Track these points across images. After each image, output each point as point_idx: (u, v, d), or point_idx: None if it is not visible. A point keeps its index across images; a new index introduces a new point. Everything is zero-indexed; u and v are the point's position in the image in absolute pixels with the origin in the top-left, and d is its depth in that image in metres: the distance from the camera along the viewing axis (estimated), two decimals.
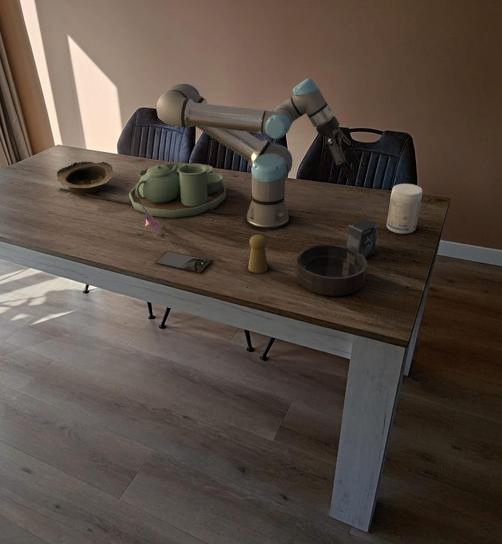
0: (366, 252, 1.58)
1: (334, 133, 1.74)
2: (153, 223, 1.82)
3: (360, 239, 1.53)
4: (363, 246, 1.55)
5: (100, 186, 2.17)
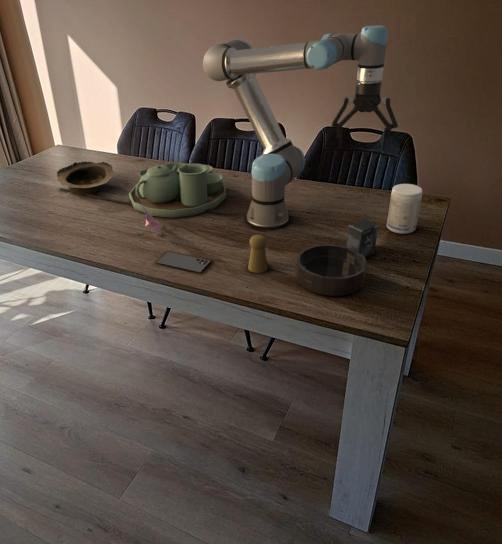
0: (366, 252, 1.58)
1: (363, 99, 1.58)
2: (153, 223, 1.82)
3: (360, 239, 1.53)
4: (363, 246, 1.55)
5: (100, 186, 2.17)
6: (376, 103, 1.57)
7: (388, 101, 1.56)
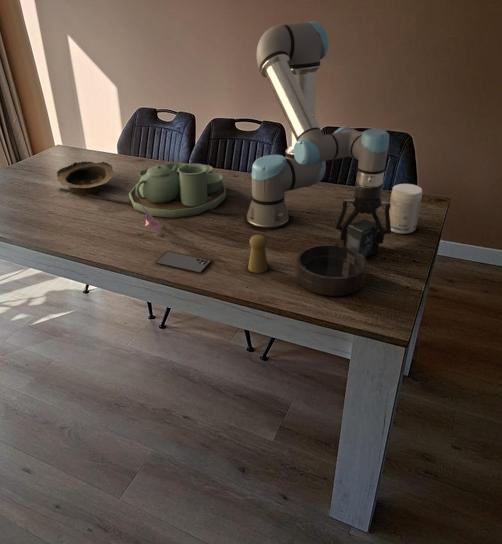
0: (366, 252, 1.58)
1: (362, 199, 1.50)
2: (153, 223, 1.82)
3: (360, 239, 1.53)
4: (363, 246, 1.55)
5: (100, 186, 2.17)
6: (376, 206, 1.50)
7: (388, 207, 1.49)
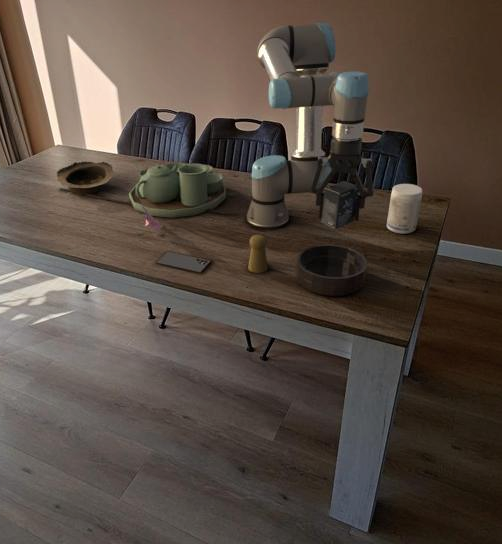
0: (345, 219, 1.37)
1: (339, 156, 1.30)
2: (153, 223, 1.82)
3: (337, 203, 1.33)
4: (342, 211, 1.35)
5: (100, 186, 2.17)
6: (356, 163, 1.30)
7: (369, 165, 1.29)
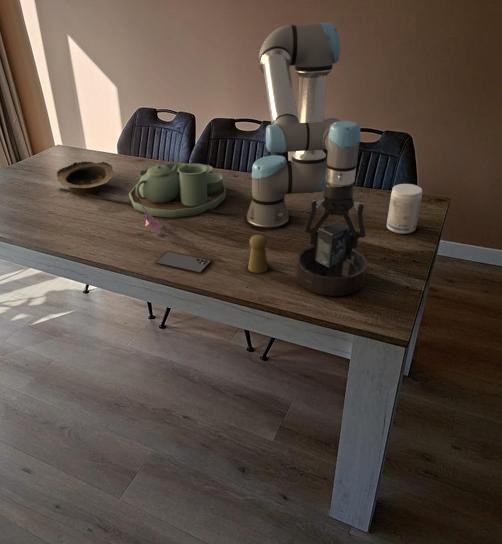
0: (338, 258, 1.43)
1: (332, 199, 1.35)
2: (153, 223, 1.82)
3: (331, 244, 1.38)
4: (335, 251, 1.40)
5: (100, 186, 2.17)
6: (348, 207, 1.35)
7: (361, 208, 1.34)
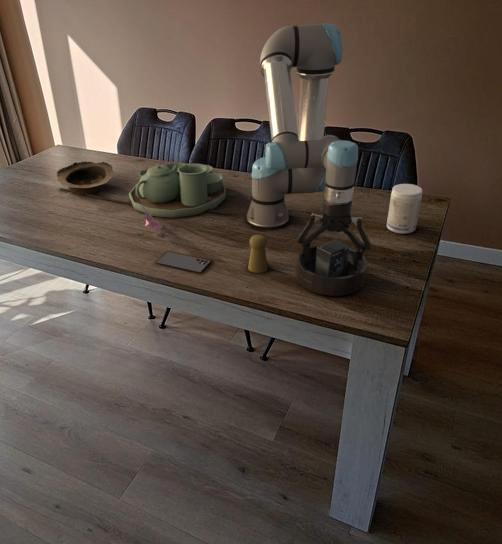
0: (336, 276, 1.46)
1: (331, 218, 1.38)
2: (153, 223, 1.82)
3: (329, 262, 1.42)
4: (333, 269, 1.43)
5: (100, 186, 2.17)
6: (346, 223, 1.38)
7: (359, 222, 1.36)
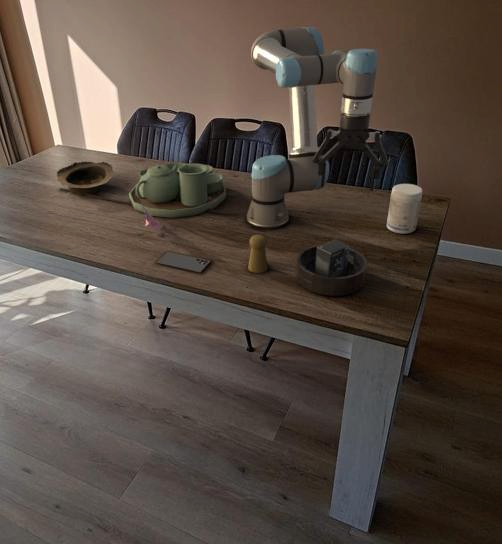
0: (336, 276, 1.46)
1: (348, 133, 1.35)
2: (153, 223, 1.82)
3: (329, 262, 1.42)
4: (333, 269, 1.43)
5: (100, 186, 2.17)
6: (363, 138, 1.35)
7: (377, 137, 1.33)
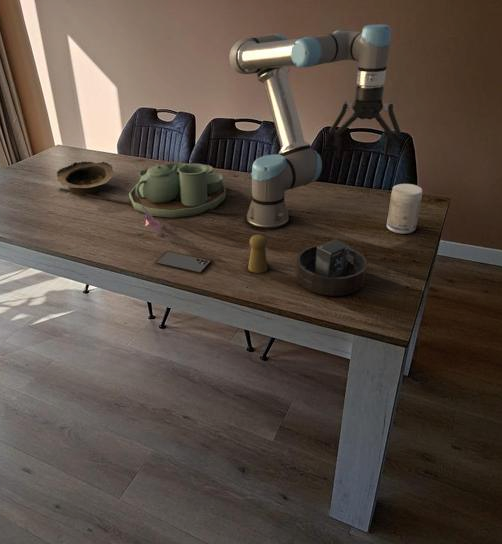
0: (336, 276, 1.46)
1: (363, 104, 1.45)
2: (153, 223, 1.82)
3: (329, 262, 1.42)
4: (333, 269, 1.43)
5: (100, 186, 2.17)
6: (378, 109, 1.44)
7: (391, 107, 1.43)
